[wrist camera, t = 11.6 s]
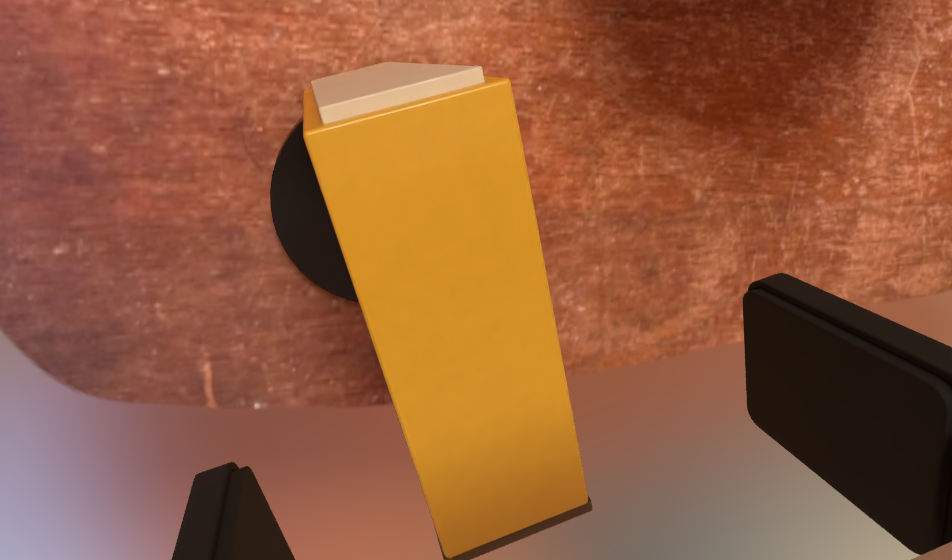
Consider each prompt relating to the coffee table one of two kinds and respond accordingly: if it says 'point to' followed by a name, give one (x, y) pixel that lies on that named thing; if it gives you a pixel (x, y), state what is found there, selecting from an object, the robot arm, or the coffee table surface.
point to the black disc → (307, 218)
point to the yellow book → (452, 291)
